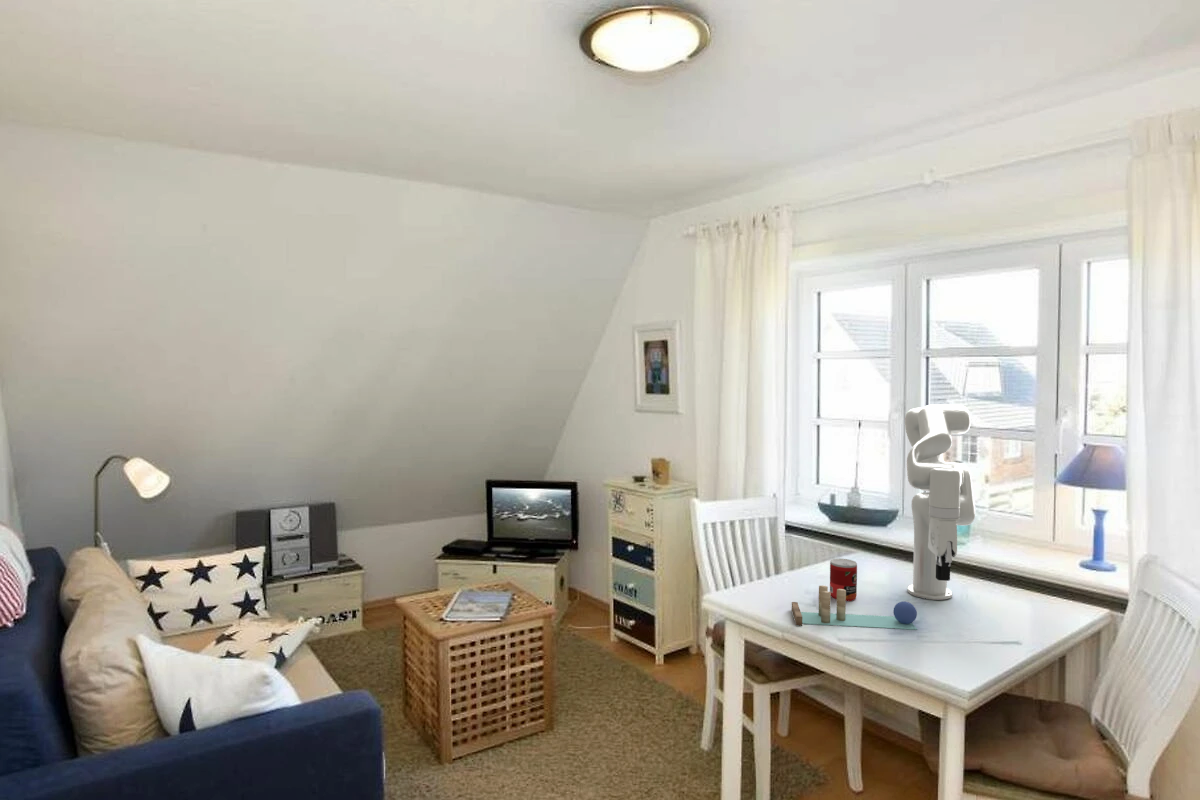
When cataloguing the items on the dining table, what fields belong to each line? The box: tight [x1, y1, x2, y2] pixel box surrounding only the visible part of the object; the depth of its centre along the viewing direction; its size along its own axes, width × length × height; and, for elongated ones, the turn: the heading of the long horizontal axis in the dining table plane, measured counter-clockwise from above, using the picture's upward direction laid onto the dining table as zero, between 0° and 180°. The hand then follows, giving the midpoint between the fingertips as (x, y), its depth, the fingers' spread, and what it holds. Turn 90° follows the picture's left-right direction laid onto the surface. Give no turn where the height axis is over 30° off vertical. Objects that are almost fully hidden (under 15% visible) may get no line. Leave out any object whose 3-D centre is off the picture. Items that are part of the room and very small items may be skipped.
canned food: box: [829, 558, 858, 602], centre depth 220 cm, size 8×8×11 cm
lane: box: [801, 611, 918, 631], centre depth 201 cm, size 9×30×1 cm, turn 81°
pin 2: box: [821, 590, 832, 623], centre depth 199 cm, size 2×2×8 cm
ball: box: [892, 600, 918, 624], centre depth 198 cm, size 6×6×6 cm
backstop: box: [791, 601, 803, 627], centre depth 203 cm, size 12×2×2 cm, turn 171°
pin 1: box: [818, 584, 829, 616], centre depth 204 cm, size 2×2×8 cm
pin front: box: [835, 589, 847, 621], centre depth 201 cm, size 2×2×8 cm
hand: (942, 579), depth 196 cm, fingers closed
